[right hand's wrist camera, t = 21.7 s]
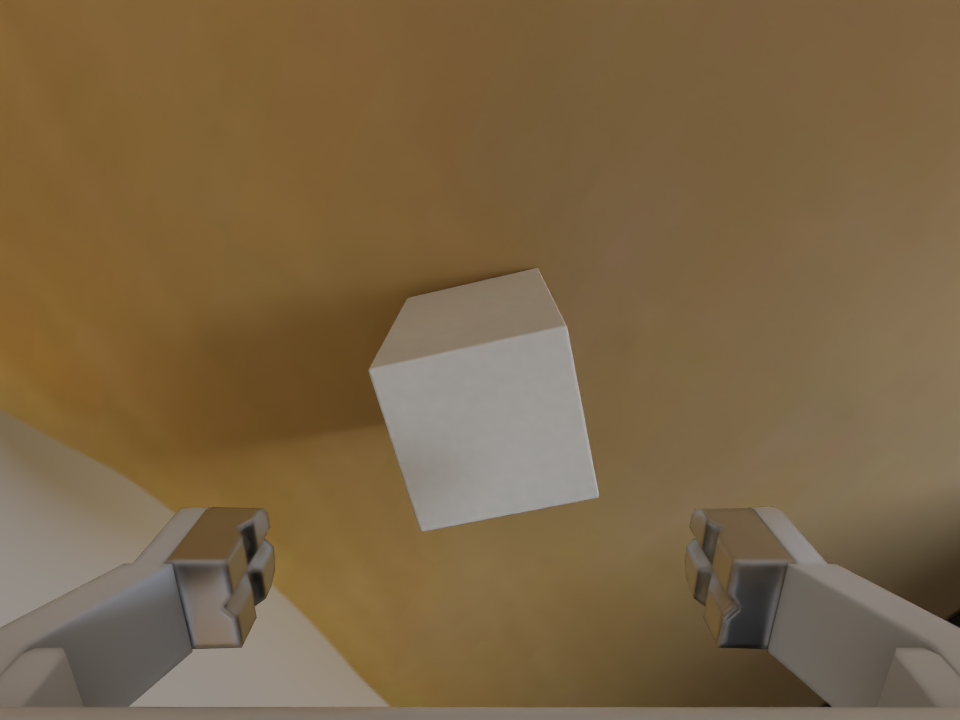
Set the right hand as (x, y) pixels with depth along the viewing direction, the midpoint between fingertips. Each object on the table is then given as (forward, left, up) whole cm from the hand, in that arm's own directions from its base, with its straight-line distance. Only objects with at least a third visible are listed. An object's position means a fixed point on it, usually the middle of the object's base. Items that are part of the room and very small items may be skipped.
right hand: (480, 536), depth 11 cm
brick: (0, +1, -13) cm, 13 cm away
